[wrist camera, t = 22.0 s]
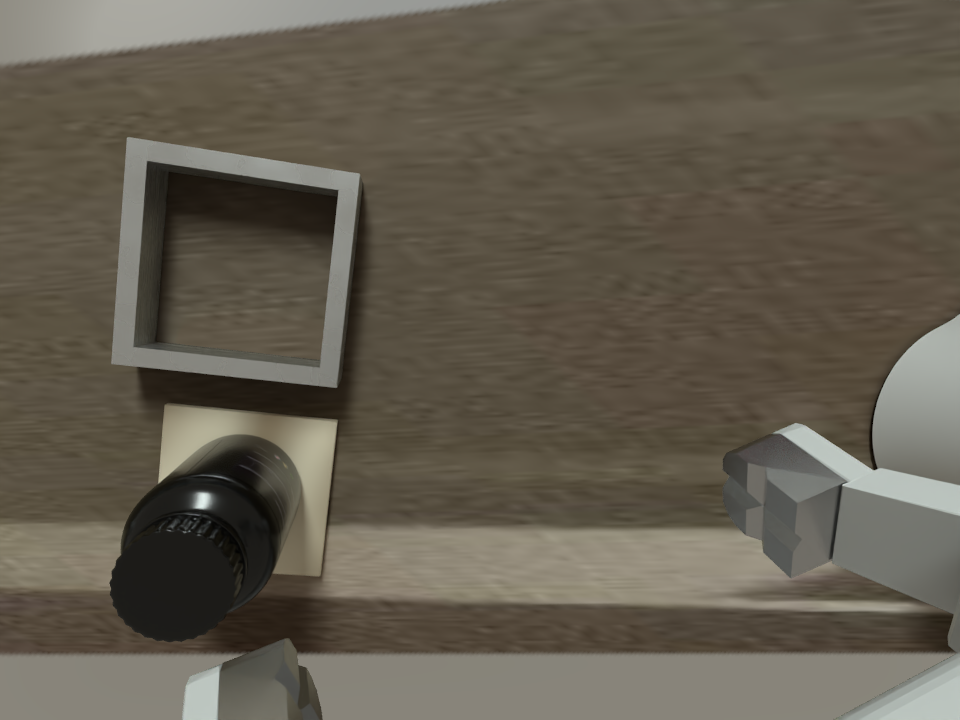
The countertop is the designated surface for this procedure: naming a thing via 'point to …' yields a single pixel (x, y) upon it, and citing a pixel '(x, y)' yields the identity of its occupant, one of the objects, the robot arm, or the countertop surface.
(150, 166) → the steel holder
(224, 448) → the supplement bottle
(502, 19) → the countertop surface
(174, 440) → the birch pad
